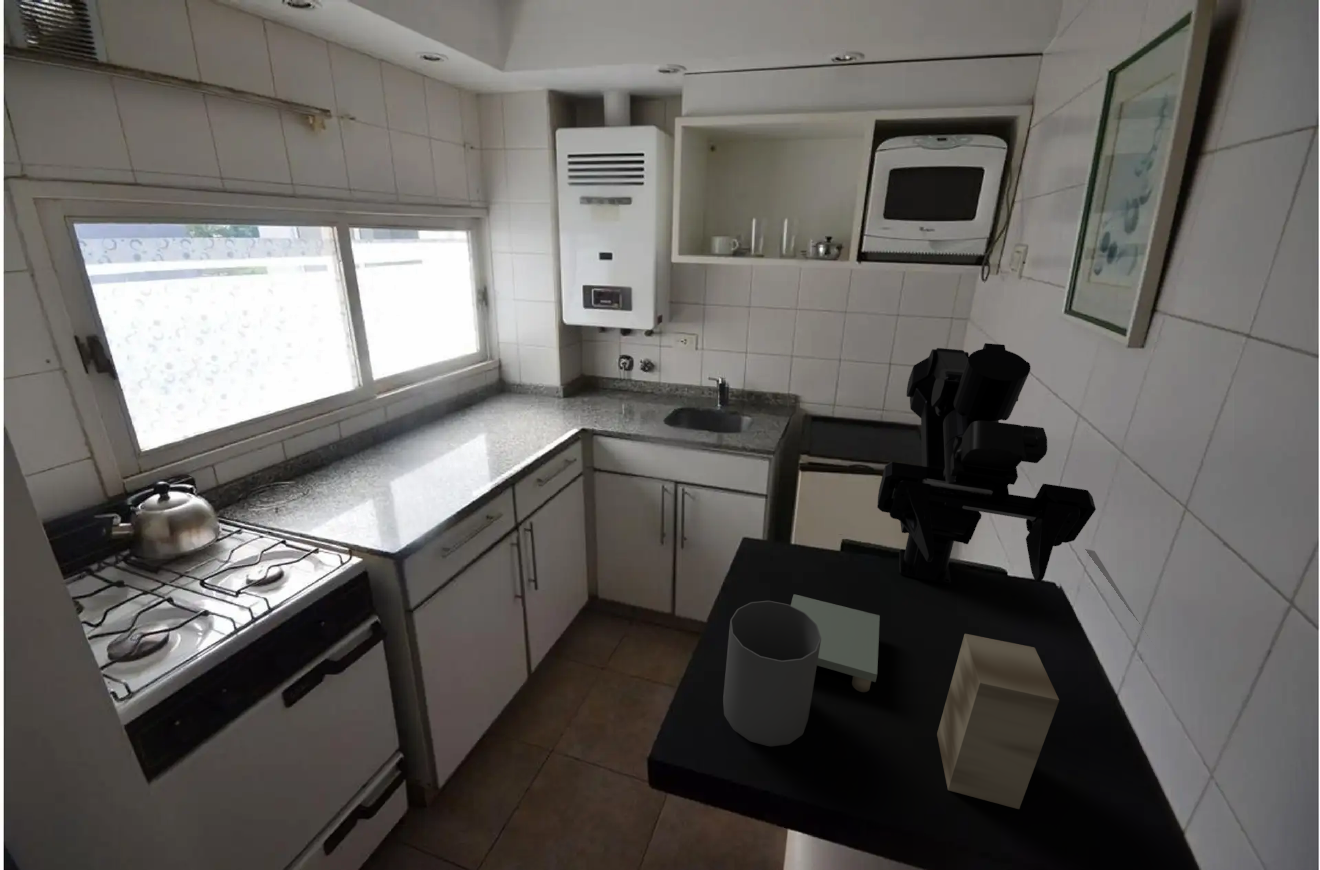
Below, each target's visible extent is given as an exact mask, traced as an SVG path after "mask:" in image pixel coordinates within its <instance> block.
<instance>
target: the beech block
mask: <svg viewBox="0 0 1320 870" xmlns="http://www.w3.org/2000/svg"><path fill="white" fill-rule="evenodd" d="M1059 703H1060V699H1059V696H1058V695H1057V693H1056V690H1055V688H1054V686H1053V683H1052V682H1051V680H1050V678H1049V676H1048V673H1047V671H1046V669H1045V667H1044V665H1043V663H1042V660H1041V658H1040V656H1039V654H1038V652H1037V649H1036V647H1033V646H1030V645H1023V644H1018V643H1014V642H1009V641H1005V640H1004V641H1003V640H999V639H993V638H988V637H983V636H979V635H974V634H968V633H964V635H963V639H962V642H961V646H960V649H959V653H958V657H957V661H956V664H955V668H954V671H953V675H952V678H951V682H950V686H949V690H948V692H947V697H946V700H945V704H944V707H943V712H942V715H941V719H940V722H939V726H938V728H937V729H938V730H937V733H936V737H937V740H938V746H939V752H940V756H941V757H940V758H941V761H942V766H943V771H944V777H945V783H946V786H947V791H949V792H953V793H958V794H959V795H960V794H961V795H963V796H964V795H965V796H969V797H973V798H975V799H978V800H983V801H986V802H991V803H995V804H997V805H998V804H999V805H1002V806H1006V807H1009V808H1013V809H1017V810H1020V809H1021V806H1022V803H1023V801H1024V797H1025V795H1026V792H1027V790H1028V786H1029V783H1030V780H1031V778H1032V775H1033V773H1034V770H1035V767H1036V765H1037V762H1038V759H1039V757H1040V753H1041V751H1042V748H1043V745H1044V742H1045V740H1046V737H1047V734H1048V732H1049V730H1050V728H1051V727H1050V726H1051V724H1052V721H1053V718H1054V716H1055V713H1056V710H1057V707H1058V706H1059Z"/></svg>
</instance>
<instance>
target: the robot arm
mask: <svg viewBox="0 0 1320 870" xmlns="http://www.w3.org/2000/svg"><path fill="white" fill-rule="evenodd" d="M1030 373H1031V364H1030V362H1028V361H1026V359H1025V358H1023V356H1020V355H1019V354H1016V353H1015V352H1012V351H1009V350H1007V349H1006V345H1005V344H999V343H988V342H986V343H984V344H983V347H982V348H981V349H977V350H976V351H973V352H972V353H971V354H970V353H969V352H967V351H964V349H956V348H955V349H954V348H943V347H937V348H936V349H933V348H932V349H931V351H930V353H929V356H928V357H926V358H924V359H923V360H921V361H919V362H918V363H916V364H914V365H913V366H912V369H911V372H910V375H909V377H908V382H907V387H906V397H909V406H910V410H911V411H912V412H913V413H914V414H915V415H916V416H918V417H919V418H920V426H921V427H920V429H921V430H920V431H921V437H920V438H921V439H920V440H921V444H920V445H921V446H920V447H921V465H918V464H909V463H903V462H895V461H890V462H888V463H887V464H886V465H884V469H883V473H882V477H881V481H880V485H879V489H878V494H877V507H876V508H877V509H878V510H879V511H881V512H882V513H888V514H889V517H890V518H892V519H894V520H898V521H899V523H900V527H901V533H902V534H908V535H907V541H906V545H905V549H902V548H901V549H900V550H899V573H900V575H903V576H906V577H912V578H915V579H920V580H924V581H928V582H933V583H938V584H943V585H946V586H947V585H951V583H952V578H951V573H950V571H951V570H950V565H949V562H950V559H951V555H952V550H953V546H954V543H955V542H956V543H961V544H964V545H969V542H970V541H971V540H972V538H973V536H974V534H975V531H976V528H977V526H978V524H979V522H980V521H981V519H982V513H987V514H992V515H1000V516H1005V517H1006V516H1007V517H1010V518H1011V517H1012V518H1019V519H1025V521H1026V522H1025V525H1026V530H1027V532H1028V534H1027V536H1026V538H1025V542H1026V548H1027V555H1028V559H1029V560H1028V561H1029V566H1030V572H1031V574H1032V577H1033V579H1034V581H1035V583H1041V582H1042V581H1043V580H1044V579H1045V578H1044V577H1045V576H1046V573H1047V569H1048V566H1049V562H1050V558H1051V555H1052V551H1053V548H1054V547H1058V546H1060V545H1062V544H1063V543H1065V544H1066V543H1071V542H1074V541H1075V540H1076V538H1077V537H1078V536H1079V534H1080V533H1081V531H1083V529H1084V528H1085V526H1086V525H1087V523H1088V521H1090V518H1091V517H1092V516H1093V515H1094V513H1095V512H1096V510H1097V508H1096V506H1095V502H1094V498H1093V495H1092V494H1091V493H1090V492H1089V490H1088V489H1083V488H1076V487H1070V486H1063V485H1058V484H1057V485H1055V484H1049V483H1042V485H1041V487H1040V488H1039V490H1038V492H1037V494H1036V495H1035V497H1030V496H1024V495H1016V494H1011V493H1010V492H1009V485H1015V483H1016V481H1017V480H1018V478H1019V476H1018V475H1019V474H1018V469H1017V468H1018V466H1019V465H1020V463H1022V462H1024V463H1030V464H1038V463H1039V462H1040V461H1041V460H1043V458H1045V456H1046V455H1047V452H1048V437H1047V434H1046V432H1045V428H1044V427H1039V426H1031V425H1020V424H1015V423H1006V422H1000V421H1007V420H1008V419H1010V417H1011V415H1012V413H1013V410H1014V409H1015V406H1016V403H1017V402H1018V401H1019V397H1020V395H1021V392H1022V390H1023V387H1024V385H1025V384H1026V381H1027V379H1028V377H1029V374H1030Z"/></svg>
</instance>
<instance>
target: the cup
mask: <svg viewBox="0 0 1320 870" xmlns="http://www.w3.org/2000/svg"><path fill="white" fill-rule="evenodd" d="M729 620H730V621H729V631H728V641H727V653H726V664H725V675H724V684H723V685H724V687H723V697H722V701H723V702H722V703H723V704H722V705H723V715H724V717H725V719H726V720H727V722H728V724H729V726H730V727H731V728H732V729H733V731H735V732H736V733H737V734H739V735H740V736H741V737H743V738H744V739H746V740H747V741H749V742H752V743H755V744H758V745H763V746H767V747H778V746H787V745H790V744H792V743H793V742H795V741H796V740H797V739H798V738H800V737H802V736H803V735H804V732H805V729H806V727H807V724H808V721H809V716H810V709H811V705H812V698H813V691H814V685H815V680H816V674H817V672H816V671H817V667H818V666H817V662H818V656H819V650H820V643H821V636H820V633H819V630H818V626H817V624H816V623H815V622H814V621H813V620H812V619H811V618H810V617H809V616H808V615H807V614H806V613H804V612H802V611H800V610H798V609H796V608H794V607H792V606H791V604H787V603H783V602H777V601H772V600H762V601H750V602H749V603H747V604H745V605H743V606H741V607H739V608H737V609H736V611H735V612H734V614H733V615H732V617H731V618H730V619H729Z"/></svg>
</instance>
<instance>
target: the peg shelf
mask: <svg viewBox="0 0 1320 870" xmlns="http://www.w3.org/2000/svg"><path fill="white" fill-rule="evenodd" d="M790 606H792V607H794V608H796V609H798V610H800V611H802V612H804V613H806V614H807V615H808V616H809V617H810V618H811V619H812V620H813V621H814V622H815V623H816V624H817V626H818V630H819V633H820V636H821V643H820V650H819V656H818V662H817V667H821V668H825V669H827V670H828V669H829V670H832V671H836V672H838V673H842V674H846V675H849V676H852V681H851V685H852V687H853V689H855V690H856V691H858V692H861V693H867V692H869V691H870V690H871V689H870V688H871V685H872V683H873V682H874V683H876V682H877V677H878V664H879V663H878V661H879V644H880V643H879V641H880V639H879V638H880V614H875V613H871V612H867V611H863V610H859V609H855V608H851V607H846V606H844V605H843V606H842V605H838V604H834V603H831V602H827V601H824V600H823V601H822V600H818V599H815V598H810V597H807V596H803V595H798V594H794V593H793V596H792V599H791V603H790Z"/></svg>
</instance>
